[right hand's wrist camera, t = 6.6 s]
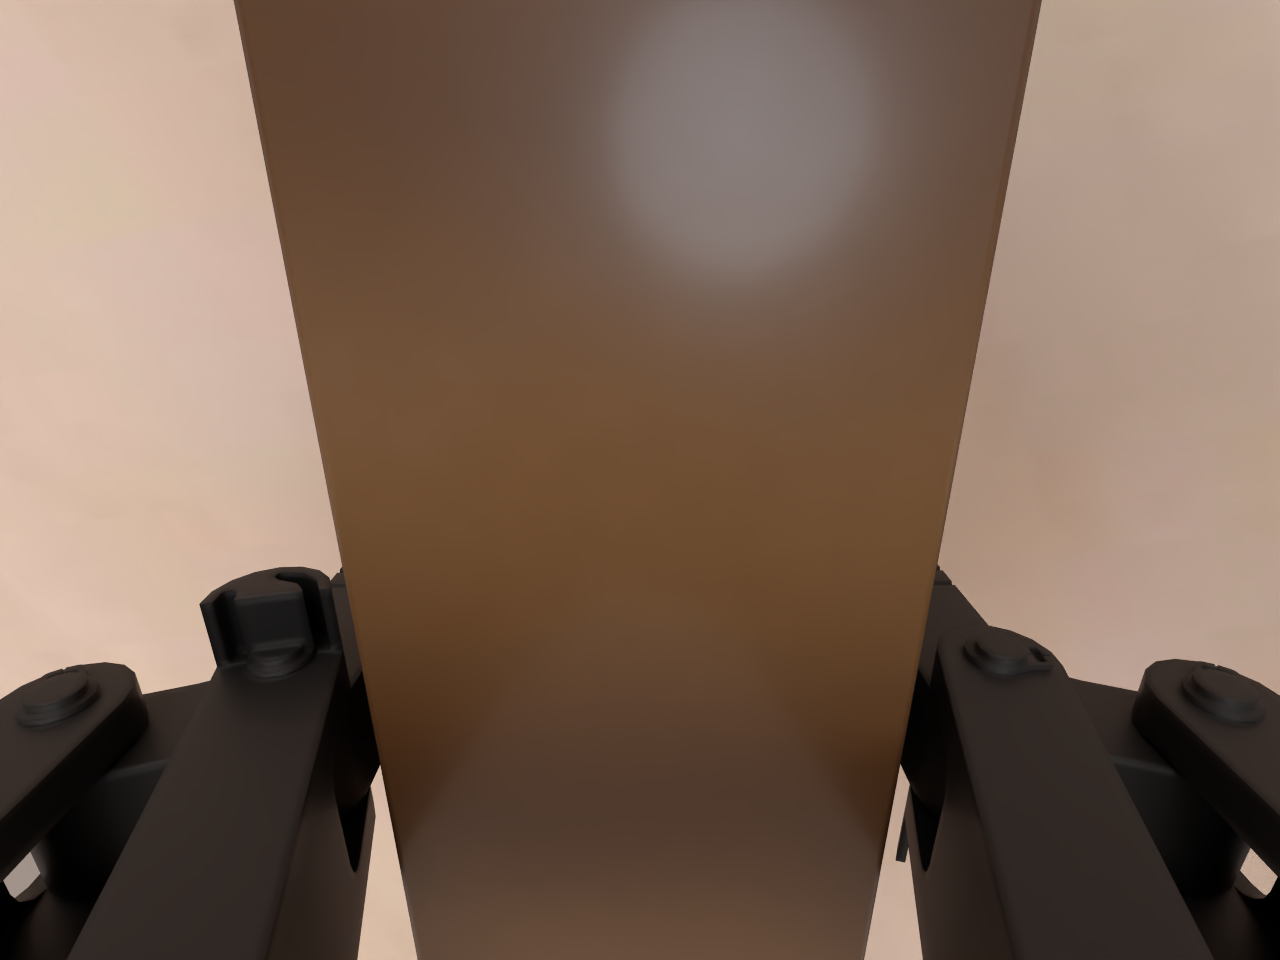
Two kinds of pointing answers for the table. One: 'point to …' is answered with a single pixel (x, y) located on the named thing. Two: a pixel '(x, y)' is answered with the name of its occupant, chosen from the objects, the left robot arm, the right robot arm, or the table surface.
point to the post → (639, 433)
